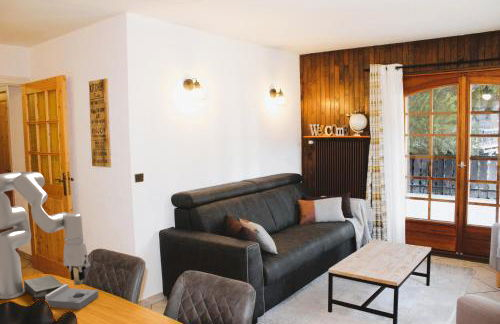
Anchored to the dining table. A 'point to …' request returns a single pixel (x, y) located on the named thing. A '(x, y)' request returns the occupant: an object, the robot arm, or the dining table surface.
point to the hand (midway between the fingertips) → (78, 278)
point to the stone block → (41, 286)
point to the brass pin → (76, 275)
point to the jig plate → (70, 297)
